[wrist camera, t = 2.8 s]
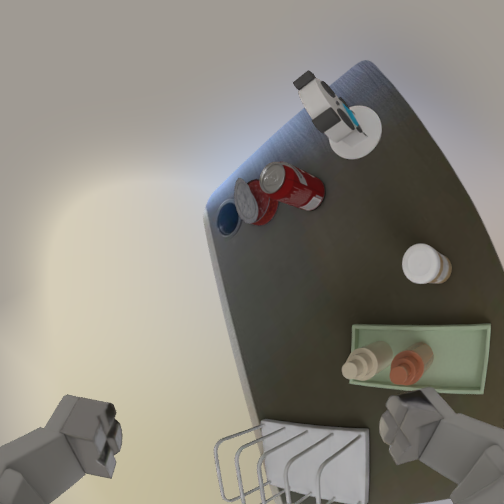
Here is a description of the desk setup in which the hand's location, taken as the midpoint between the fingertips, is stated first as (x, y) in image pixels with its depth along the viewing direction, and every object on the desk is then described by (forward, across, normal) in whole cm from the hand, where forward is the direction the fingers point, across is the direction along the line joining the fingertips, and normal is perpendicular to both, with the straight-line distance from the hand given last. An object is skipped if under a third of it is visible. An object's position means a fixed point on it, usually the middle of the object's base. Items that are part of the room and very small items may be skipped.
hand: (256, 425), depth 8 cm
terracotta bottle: (+26, +28, -18) cm, 43 cm away
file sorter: (+31, +17, -46) cm, 58 cm away
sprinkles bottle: (+30, +31, -4) cm, 43 cm away
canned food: (+62, +7, +1) cm, 62 cm away
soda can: (+52, +16, +4) cm, 55 cm away
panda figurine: (+48, +23, +16) cm, 56 cm away
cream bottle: (+31, +24, -20) cm, 44 cm away
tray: (+27, +29, -18) cm, 43 cm away
